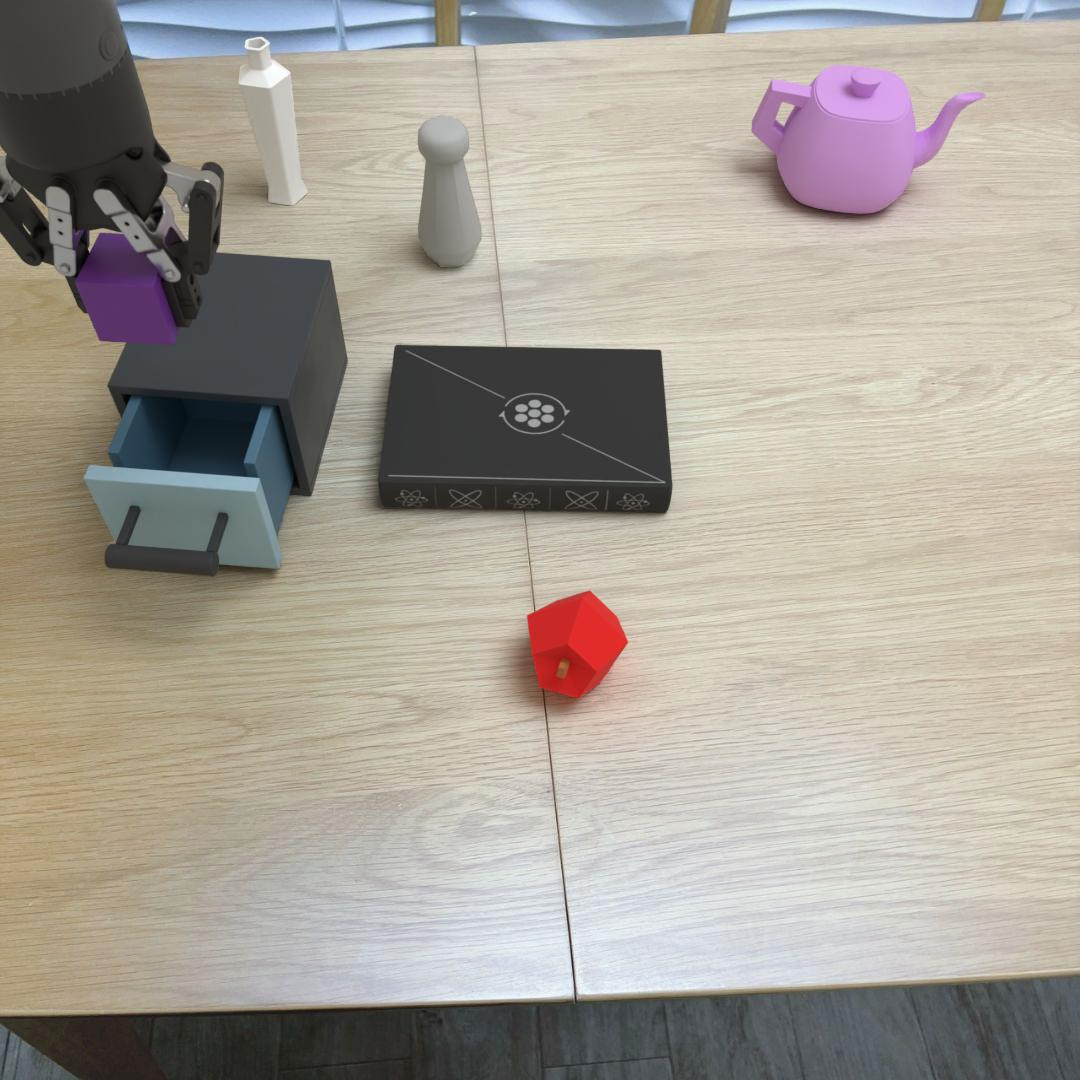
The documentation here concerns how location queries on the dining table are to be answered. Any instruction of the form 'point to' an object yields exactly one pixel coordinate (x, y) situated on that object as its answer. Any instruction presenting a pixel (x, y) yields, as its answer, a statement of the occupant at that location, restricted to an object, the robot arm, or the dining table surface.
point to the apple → (574, 643)
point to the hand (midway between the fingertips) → (145, 314)
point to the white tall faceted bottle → (272, 121)
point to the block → (124, 294)
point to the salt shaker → (447, 194)
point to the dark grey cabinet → (254, 350)
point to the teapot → (850, 137)
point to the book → (526, 429)
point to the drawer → (194, 486)
